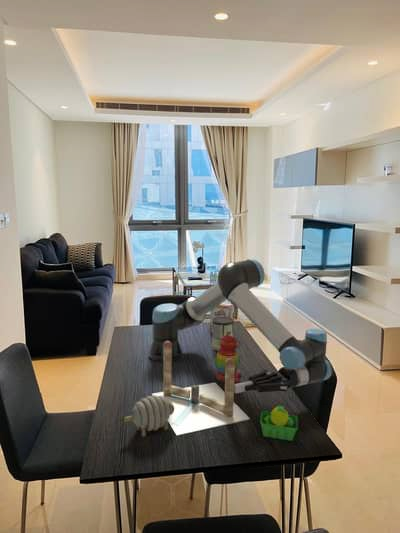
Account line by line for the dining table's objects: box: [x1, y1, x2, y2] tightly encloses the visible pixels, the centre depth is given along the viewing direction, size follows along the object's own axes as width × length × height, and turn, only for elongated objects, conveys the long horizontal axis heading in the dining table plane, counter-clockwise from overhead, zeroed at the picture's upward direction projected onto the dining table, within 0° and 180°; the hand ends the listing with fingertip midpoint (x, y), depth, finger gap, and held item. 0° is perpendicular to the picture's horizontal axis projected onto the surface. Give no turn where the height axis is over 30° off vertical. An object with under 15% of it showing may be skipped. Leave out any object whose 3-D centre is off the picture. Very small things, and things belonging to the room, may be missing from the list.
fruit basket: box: [259, 405, 299, 441], centre depth 129 cm, size 11×9×11 cm
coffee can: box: [211, 317, 235, 352], centre depth 199 cm, size 10×10×14 cm
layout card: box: [151, 382, 251, 437], centre depth 146 cm, size 28×26×1 cm
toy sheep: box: [123, 395, 174, 438], centre depth 130 cm, size 11×17×11 cm, turn 125°
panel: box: [199, 358, 235, 417], centre depth 141 cm, size 14×3×20 cm, turn 50°
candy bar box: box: [209, 302, 234, 334], centre depth 219 cm, size 11×5×16 cm, turn 66°
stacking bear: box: [215, 334, 242, 384], centre depth 167 cm, size 11×10×18 cm
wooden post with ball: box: [162, 341, 199, 403], centre depth 149 cm, size 15×3×21 cm, turn 66°
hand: (235, 388), depth 137 cm, fingers closed
